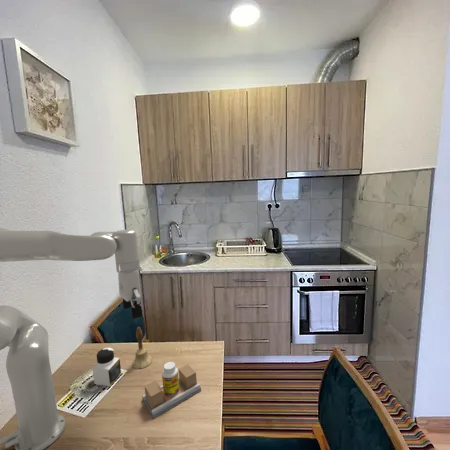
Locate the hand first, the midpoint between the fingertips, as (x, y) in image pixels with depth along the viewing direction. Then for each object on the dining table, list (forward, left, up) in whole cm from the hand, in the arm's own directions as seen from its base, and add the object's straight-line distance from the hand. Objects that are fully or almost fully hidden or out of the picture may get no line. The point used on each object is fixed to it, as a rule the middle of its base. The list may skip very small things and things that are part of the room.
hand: (132, 312), depth 91 cm
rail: (+8, -10, -30) cm, 33 cm away
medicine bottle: (-8, +14, -31) cm, 34 cm away
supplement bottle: (+8, -10, -29) cm, 32 cm away
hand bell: (+6, +15, -31) cm, 35 cm away
